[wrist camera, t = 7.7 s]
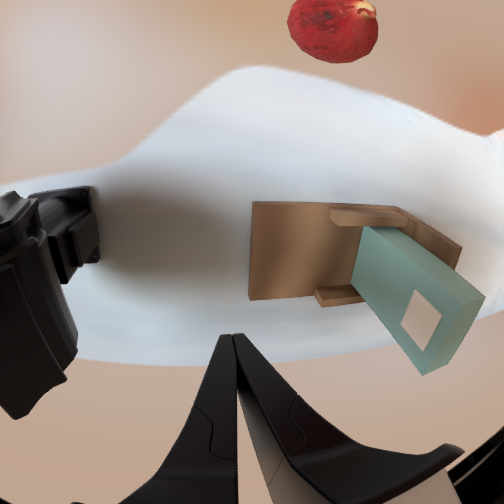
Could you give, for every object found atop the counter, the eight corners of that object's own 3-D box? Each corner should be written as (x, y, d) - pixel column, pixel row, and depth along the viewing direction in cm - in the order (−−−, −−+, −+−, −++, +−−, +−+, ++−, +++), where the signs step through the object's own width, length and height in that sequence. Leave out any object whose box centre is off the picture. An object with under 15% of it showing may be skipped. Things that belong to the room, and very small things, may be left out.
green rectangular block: (349, 282, 24) (420, 376, 14) (362, 223, 22) (461, 305, 11) (375, 280, 25) (447, 363, 14) (389, 223, 22) (485, 297, 12)
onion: (286, 74, 17) (334, 50, 9) (267, 11, 14) (301, -38, 7) (353, 68, 17) (418, 55, 10) (335, 9, 14) (390, -24, 7)
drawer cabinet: (248, 294, 25) (269, 371, 17) (252, 201, 21) (285, 255, 13) (376, 282, 27) (424, 336, 19) (396, 206, 23) (462, 247, 15)
